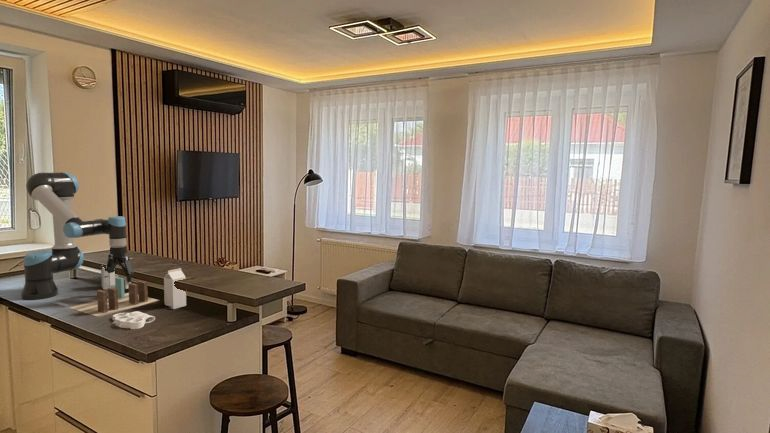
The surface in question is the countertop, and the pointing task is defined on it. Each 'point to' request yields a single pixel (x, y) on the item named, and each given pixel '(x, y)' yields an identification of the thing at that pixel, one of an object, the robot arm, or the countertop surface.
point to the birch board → (122, 305)
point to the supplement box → (106, 279)
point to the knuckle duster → (132, 319)
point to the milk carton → (174, 289)
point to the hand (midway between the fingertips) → (120, 286)
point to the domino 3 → (120, 287)
